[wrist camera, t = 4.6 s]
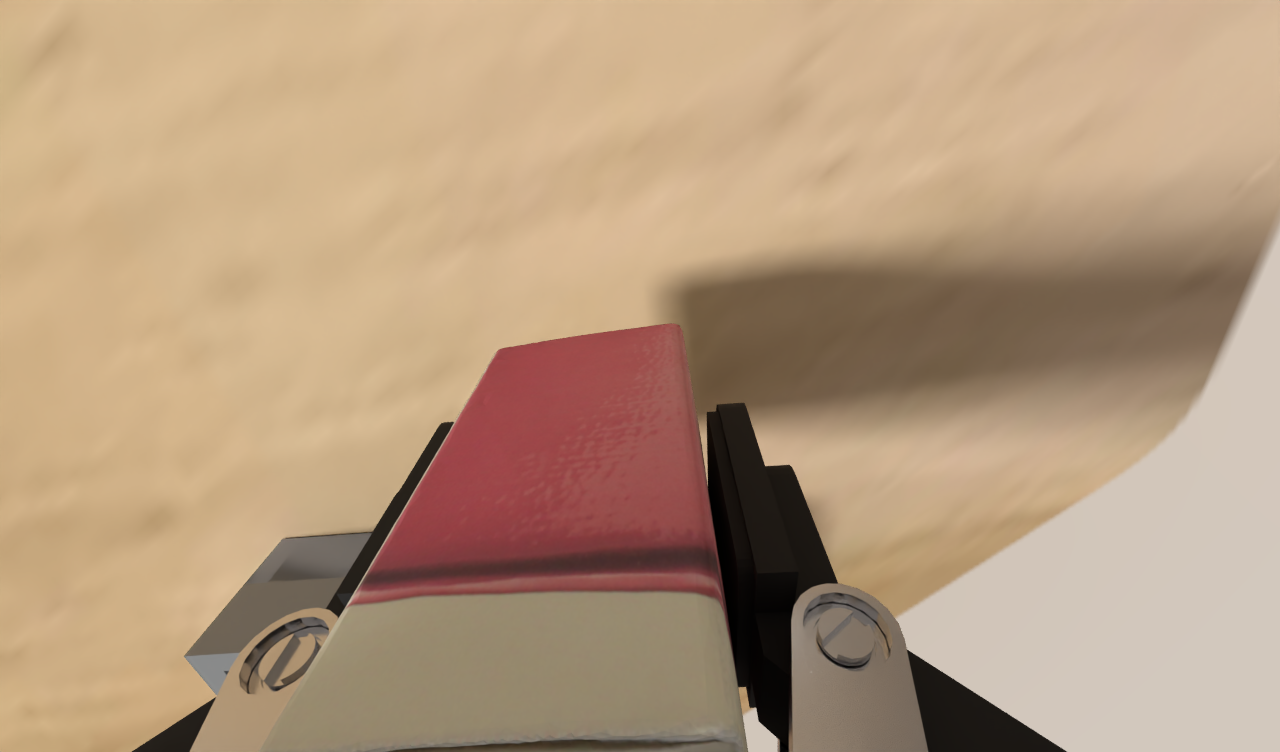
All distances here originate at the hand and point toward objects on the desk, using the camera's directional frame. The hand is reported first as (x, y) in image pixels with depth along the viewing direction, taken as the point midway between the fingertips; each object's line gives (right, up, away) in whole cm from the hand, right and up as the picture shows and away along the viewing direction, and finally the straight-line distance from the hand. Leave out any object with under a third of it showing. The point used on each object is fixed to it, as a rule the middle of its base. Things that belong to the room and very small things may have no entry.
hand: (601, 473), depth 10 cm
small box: (0, +1, +2) cm, 2 cm away
